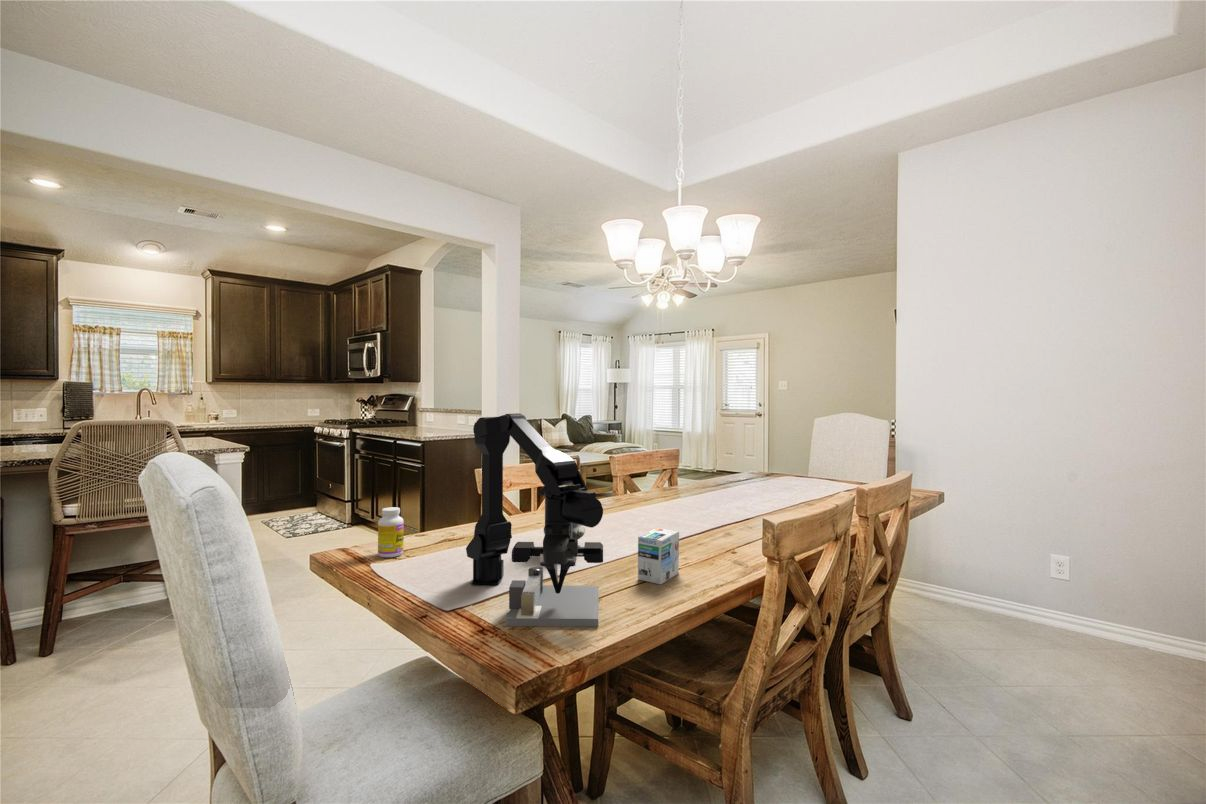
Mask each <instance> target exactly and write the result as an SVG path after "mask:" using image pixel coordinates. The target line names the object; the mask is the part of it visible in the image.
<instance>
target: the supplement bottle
mask: <svg viewBox="0 0 1206 804" xmlns="http://www.w3.org/2000/svg"><path fill="white" fill-rule="evenodd" d="M400 513H401V508H400V507H398V506H397V507H395V506H391V507H384V508H382V509H381V515H382V517H380V519H378V522H377V554H378V556H379V557H381V558H387V559H388V558H396V557H399V556H402V554H403V553H404V530H405V529H404V527H405V526H404V525H405V523H404V521H405V520H404V518H403V517H401V516H400Z"/></svg>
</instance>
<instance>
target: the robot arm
mask: <svg viewBox="0 0 1206 804" xmlns="http://www.w3.org/2000/svg"><path fill="white" fill-rule="evenodd" d="M472 429H473V436H474V444H475V446H476V447H477V449H478V450H479V452H480V454H481V515H480V516H479V519H478V520H477V522H476V523H475V526H474V533H473V537H472V539H471V540H470V541H469V544H467V546H466V547H465V551H466V556H467V558H470V559H472V580H471V582H470V584H471V585H477V586H478V585H485V586H488V585H489V586H490V585H491V586H492V585H495V586H496V585H497V584H498V585H499V584H500V582H501V581H502V580H503V578H504V572H505V571H504V568H505V566H504V559H502V555H506V554H508V552H509V548H510V544H511V539H512V538H513V536H512V522H511V521H508V519H506V517H505V515H504V505H503V504H504V498H503V497H504V453H505V451H506V450H507V448H508V446H509V445H510V441H511V438H512V439H513V441H515V443H516V444H517V445H518V446H519V447H520V448H521V450H523V452H524V453H525V454H526V455H527V457H528V458H530V460H532V462H533V464H534V466H535V467H534V470H535V474H536V476H537V477H538V479H539V480H540V482H541V484H542V485H543V487H542V488H541V489H539V490H538V495H539V496H543V497H544V527H545V534H544V537H543V540H542V546H535V543H534V541H517V542H516V543H515V544H514V546H513V548H512V550H511V562H512V563H528V562H529V561H530V559H531V557H539V559H540V562H539V567H544V568H545V569H546V571H547V573H548V574H549V577H550V579H551V583H552V585H553V586H554V589H555V592H556V593H560V591H561V588H562V585H564V581H565V578H566V575H567V573H568V571H569V569H570V568H571V567H575V566H576V563H577V557H580V558H583V559H584V561H586V563H588V564H590V563H591V564H602V563H603V562H604V545H603V543H602V542H601V541H598V542H597V541H586V542H584V546H580V547H578V545H579V541H578V540H579V539H573V538H572V523H575V524H578V525H582V526H584V527H586V528H592V529H593V528H595V527H596V526H598V525H599V524H600V522H601V520H602V519H603V515H604V507H603V505H602V503H601V501H600V500H599V498H596V496H597V493H596V491H588V487H587V485H586V481H585V480H584V479H583V477H582V474H581V473H580V470H579V468H578V465H577V462H576V461H575V459H573V458H572V457H571V456H570V455H568V454H566V453H565V452H563V451H560V450H558V449H555V448H554V447H552V446H551V445H550V444H549V443H548V442H547V440H545V438H544V437H542V436H541V434H540V433H539V432H538V431H537V430H536V429H535V428H534V427H533V426H532V424H531V423H529V421H527V418H526V416H525V415H524V414H522V413H519V412H518V413H516V412H515V413H506V414H503V415H499V416H486V417H484V416H483V417H482V416H481V417H479V418H478V419H477V420H476V422H474V425H473V428H472ZM559 486H562V487H559ZM557 565H560V570H559V573H558V566H557ZM558 575H559V576H558Z"/></svg>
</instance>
